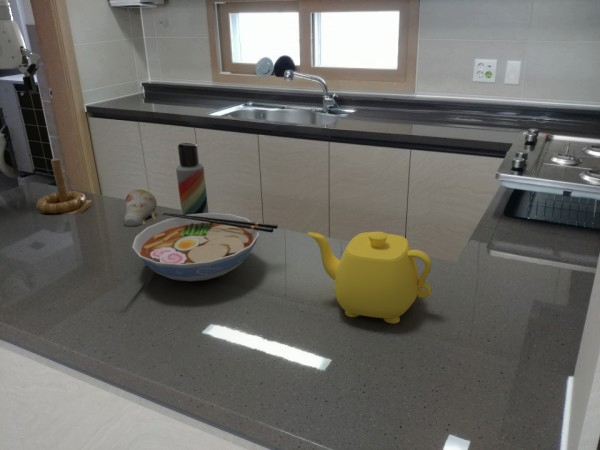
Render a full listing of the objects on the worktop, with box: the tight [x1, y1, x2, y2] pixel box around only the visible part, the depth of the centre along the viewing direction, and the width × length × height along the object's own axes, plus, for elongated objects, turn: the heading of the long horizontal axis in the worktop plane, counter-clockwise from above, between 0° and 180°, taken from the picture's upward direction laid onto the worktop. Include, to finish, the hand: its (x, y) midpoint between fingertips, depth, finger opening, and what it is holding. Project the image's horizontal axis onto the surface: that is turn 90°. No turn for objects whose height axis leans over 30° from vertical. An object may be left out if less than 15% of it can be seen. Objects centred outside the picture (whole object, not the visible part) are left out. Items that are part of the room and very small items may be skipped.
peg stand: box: [39, 157, 93, 214], centre depth 130 cm, size 9×9×13 cm
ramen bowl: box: [131, 212, 279, 282], centre depth 99 cm, size 25×23×8 cm
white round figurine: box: [123, 188, 158, 227], centre depth 123 cm, size 8×10×10 cm
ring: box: [36, 190, 87, 215], centre depth 132 cm, size 11×11×2 cm
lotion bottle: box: [175, 142, 210, 215], centre depth 114 cm, size 6×6×20 cm
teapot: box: [307, 231, 433, 324], centre depth 85 cm, size 14×20×13 cm
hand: (12, 93), depth 126 cm, fingers open, 9 cm apart
